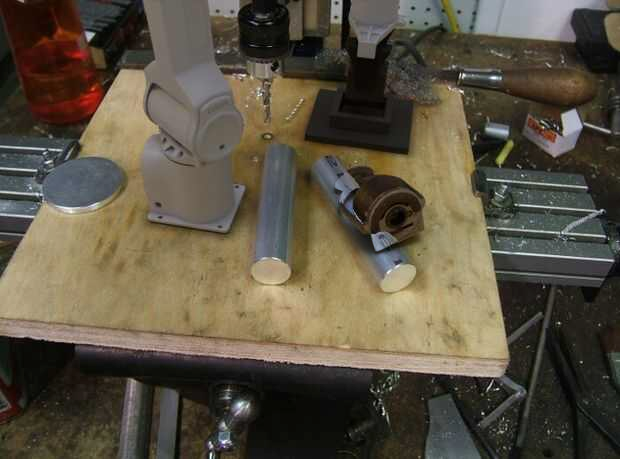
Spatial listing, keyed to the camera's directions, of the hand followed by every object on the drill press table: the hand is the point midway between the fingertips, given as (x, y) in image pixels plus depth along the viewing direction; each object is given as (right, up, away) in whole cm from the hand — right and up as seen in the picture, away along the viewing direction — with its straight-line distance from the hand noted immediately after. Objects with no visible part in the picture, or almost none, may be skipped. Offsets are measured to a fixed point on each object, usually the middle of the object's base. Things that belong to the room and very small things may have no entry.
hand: (365, 82), depth 75 cm
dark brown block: (0, -1, +1) cm, 2 cm away
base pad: (0, -4, +4) cm, 6 cm away
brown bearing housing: (0, -18, -9) cm, 20 cm away
